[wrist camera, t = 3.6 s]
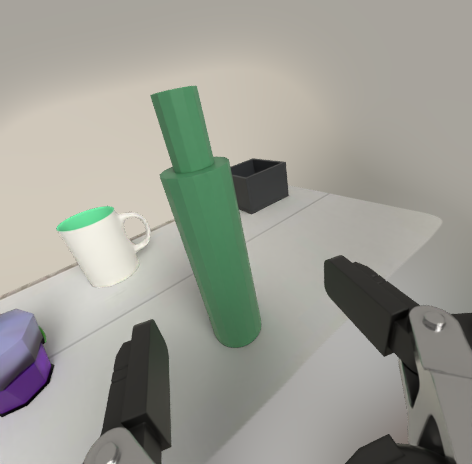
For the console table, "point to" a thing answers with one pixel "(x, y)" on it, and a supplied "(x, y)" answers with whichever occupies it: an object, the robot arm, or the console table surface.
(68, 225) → the mug
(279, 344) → the console table surface
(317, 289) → the console table surface
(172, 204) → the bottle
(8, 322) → the potion bottle
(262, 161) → the bin
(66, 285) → the console table surface
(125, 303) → the console table surface
